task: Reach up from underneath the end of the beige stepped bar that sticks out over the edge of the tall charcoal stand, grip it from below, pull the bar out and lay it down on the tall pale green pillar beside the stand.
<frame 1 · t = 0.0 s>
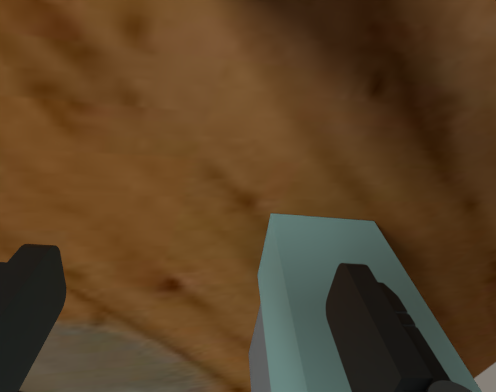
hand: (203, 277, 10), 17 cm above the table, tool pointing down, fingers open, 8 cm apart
stand: (309, 325, 39), on the table
tall pale green pillar: (313, 249, 33), on the table
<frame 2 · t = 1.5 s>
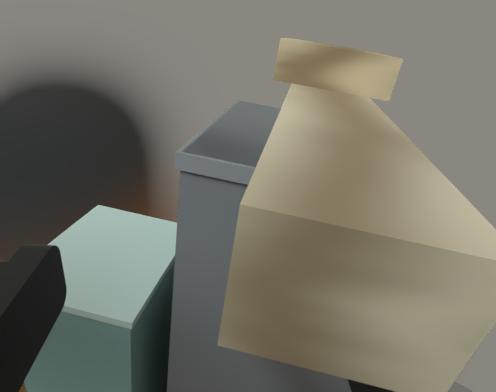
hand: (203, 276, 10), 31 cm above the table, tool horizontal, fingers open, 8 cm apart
beige stepped bar: (316, 163, 16), point 32 cm above the table, touching stand
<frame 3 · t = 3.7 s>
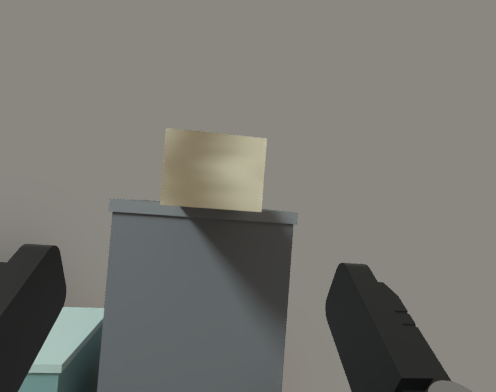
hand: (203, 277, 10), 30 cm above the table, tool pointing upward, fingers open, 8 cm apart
beige stepped bar: (208, 205, 24), point 32 cm above the table, touching stand
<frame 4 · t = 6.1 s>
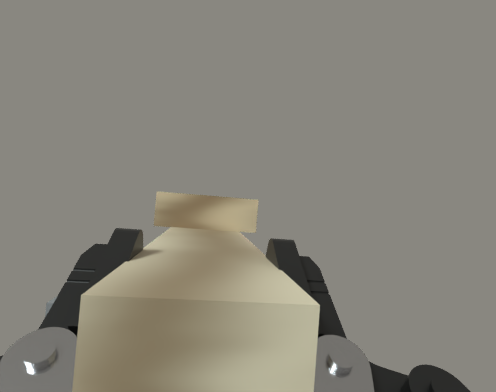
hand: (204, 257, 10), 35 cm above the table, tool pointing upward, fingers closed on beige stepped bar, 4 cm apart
beige stepped bar: (200, 294, 16), point 32 cm above the table, touching gripper, stand
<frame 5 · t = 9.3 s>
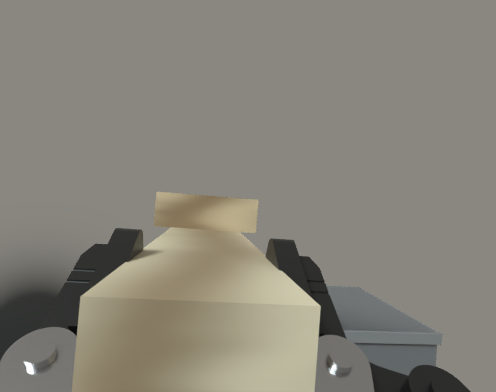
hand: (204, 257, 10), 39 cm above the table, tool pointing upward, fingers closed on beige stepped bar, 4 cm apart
beige stepped bar: (200, 295, 16), point 36 cm above the table, touching gripper
when the fingers open (26 cm above the table, at t = 12.9 s): beige stepped bar drops 1 cm, resting on tall pale green pillar.
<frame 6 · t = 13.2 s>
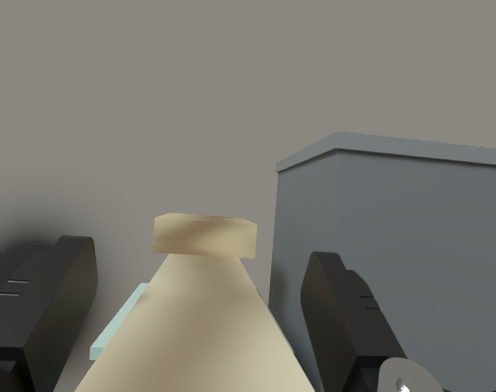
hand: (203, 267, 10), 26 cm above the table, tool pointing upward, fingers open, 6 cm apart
beige stepped bar: (199, 326, 16), point 22 cm above the table, touching tall pale green pillar
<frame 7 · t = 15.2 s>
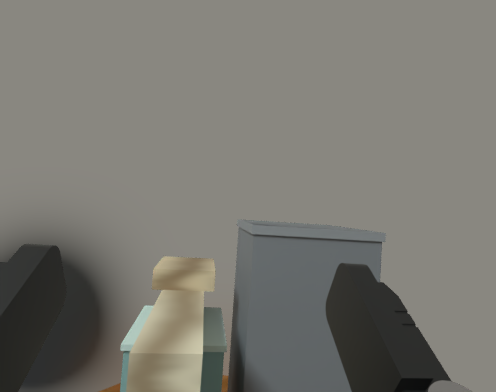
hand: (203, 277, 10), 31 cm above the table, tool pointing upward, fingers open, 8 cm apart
beige stepped bar: (178, 333, 29), point 22 cm above the table, touching tall pale green pillar
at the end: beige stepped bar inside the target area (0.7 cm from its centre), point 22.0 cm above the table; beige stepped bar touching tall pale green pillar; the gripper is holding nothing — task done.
